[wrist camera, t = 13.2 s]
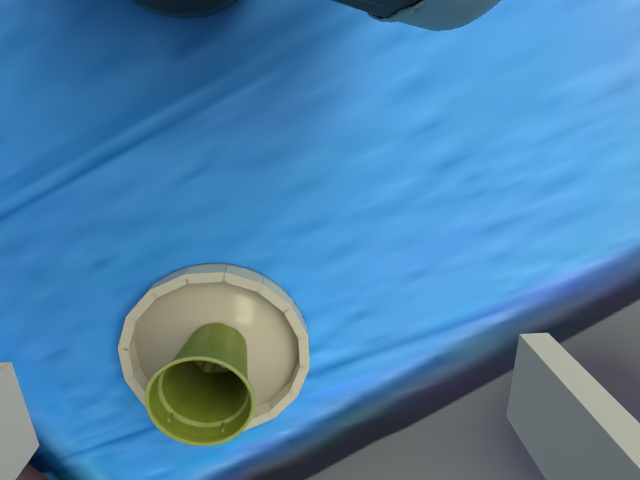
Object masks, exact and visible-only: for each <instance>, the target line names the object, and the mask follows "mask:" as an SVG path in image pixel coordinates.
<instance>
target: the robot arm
mask: <svg viewBox="0 0 640 480" xmlns="http://www.w3.org/2000/svg"><path fill="white" fill-rule="evenodd" d="M132 1H133V2H135V3H137V4H139V5H140V6H142V7H144V8H146V9H148V10H151V11H153V12H155V13H158V14H161V15H165V16H170V17H175V18H198V17H204V16H208V15H211V14H214V13H217V12H219V11H222V10H223V9H225V8H227V7H229V6H230V5H232V4H233V3H235V2H236V1H237V0H132ZM331 1H334V2H337V3H340V4H344V5H347V6H350V7H353V8H356V9H359V10H362V11H365V12H367V13H368V14H369V16H371V17H372V18H373V19H376V20H378V21H381V22H385V21H387V22H396V21H398V22H402V23H405V24H409V25H413V26H416V27H420V28H424V29H428V30H432V31H440V30H452V29H455V28H459V27H462V26H465V25H467V24H469V23H471V22H472V21H474V20H476V19H477V18H479V17H481V16H482V15H484V14H485V13H486V12H488V11H489V10H490V9H492V8H493V7H494V6H495V5H496V4H498V3H499V2H500V1H501V0H331ZM507 418H508V420H509V421H510V423H511V425H512V426H513V428H514V429H515V431H516V432H517V434H518V436H519V437H520V439H521V440H522V442H523V443H524V445H525V447H526V448H527V450H528V451H529V453H530V454H531V456H532V457H533V459H534V461H535V462H536V464H537V466H538V467H539V469H540V470H541V472H542V473H543V475H544V477H545V478H546V480H640V423H639V422H637V420H635V419H634V418H633V417H632V416H631V415H630V414H629V413H628V412H627V411H626V410H625V409H624V408H623V407H622V406H621V405H620V404H619V403H618V402H617V401H616V400H615V399H614V398H613V397H612V396H611V395H610V394H609V393H608V392H607V391H606V390H605V389H604V388H603V387H602V386H601V385H600V384H599V383H598V382H597V381H596V380H595V379H594V378H593V377H592V376H591V375H590V374H589V373H588V372H587V371H586V370H585V369H584V368H583V367H582V366H581V365H580V364H579V363H578V362H577V361H576V360H575V359H574V358H573V357H572V356H571V355H570V354H569V353H568V352H567V351H566V350H565V349H564V348H562V346H560V344H559V343H557V342H556V341H555V340H554V339H553V338H552V337H551V336H550V335H549V334H548V333H536V334H520V335H519V341H518V348H517V354H516V360H515V366H514V373H513V379H512V386H511V391H510V397H509V404H508V410H507ZM38 447H39V443H38V440H37V437H36V434H35V431H34V428H33V425H32V422H31V419H30V416H29V413H28V410H27V407H26V404H25V401H24V398H23V395H22V392H21V389H20V386H19V383H18V380H17V377H16V374H15V371H14V368H13V365H12V362H0V480H16V478H17V477H18V475H19V474H20V472H21V471H22V470H23V468H24V467H25V465H26V464H27V463H28V461H29V460H30V458H31V457H32V455H33V454H34V453H35V451H36V450H37V448H38Z"/></svg>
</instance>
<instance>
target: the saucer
mask: <svg viewBox="0 0 640 480" xmlns="http://www.w3.org/2000/svg"><path fill="white" fill-rule="evenodd" d="M210 323H222V324H224V325H226V326H229V327H231V328H234V329H236V330H238V331H239V332H240V333H241V334H242V336H243V337H244V339H245V341H246V345H247V372H248V380H249V382H250V384H251V386H252V389H253V391H254V395H255V411H254V415H253V417H252V419H251V421H250V423H249V425H248V426H247V427H246V429H245V430H247V429H250V428H252V427H254V426H257V425H259V424H262V423H264V422H266V421H269V420H271V419H274V418H275V417H276V416H277V415H278V414H279V413H280V412H282V411H283V410H284V409H285V408H286V407H287V406H288V405H289V404H290V403H291V402H292V401H293V400H294V399H295V398H296V397H297V396H298V394H299V392H300V390H301V387H302V385H303V383H304V380H305V378H306V376H307V373H308V371H309V368H310V363H309V343H308V328H307V326H306V324H305V321H304V318H303V316H302V314H301V311H300V309H299V308H298V306H297V305H296V303H295V301H294V300H293V299H292V298H291V297H290V295H289V294H288V293H287V292H286V291H285V290H284V289H283V288H282V287H281V286H279V285H278V284H277V283H276V282H274V281H273V280H271V279H270V278H268V277H266V276H264V275H263V274H261V273H259V272H256V271H254V270H251V269H248V268H246V267H241V266H237V265H233V264H225V263H206V264H197V265H193V266H189V267H185V268H182V269H180V270H177V271H174V272H172V273H170V274H169V275H167V276H165V277H163V278H162V279H160V280H159V281H157V282H155V283H154V284H153V285H152V286H151V288H150V289H149V290H148V291H147V292H146V293H145V294H144V295H143V297H142V298H141V299H140V300H139V301H138V302H137V303H136V305H135V306H134V307H133V308H132V309H131V311H130V312H129V313H128V315H127V316H126V318H125V322H124V326H123V330H122V334H121V338H120V341H119V345H118V352H119V357H120V361H121V366H122V370H123V375H124V379H125V381H126V383H127V384H128V385H129V387H130V388H131V389H132V391H133V392H134V393H135V395H136V396H137V397H138V398H139V400H140V401H141V402H142V404H143V405H144V406H145V391H146V387H147V385H148V383H149V381H150V379H151V378H152V376H153V375H154V374H155V373H156V372H157V371H158V370H159V369H160V368H161V367H162V366H164V365H165V364H167V363H169V362H170V361H172V360H173V359H174V358H175V356H176V355H177V354H178V352H179V351H180V350H181V349H182V347H183V346H184V345H185V343H186V342H187V340H188V339H189V338H190V336H191V335H192V334H193V333H194V332H195V331H196V330H197V329H198V328H200V327H201V326H203V325H206V324H210ZM221 368H226V367H224V366H221ZM245 430H244V431H245Z"/></svg>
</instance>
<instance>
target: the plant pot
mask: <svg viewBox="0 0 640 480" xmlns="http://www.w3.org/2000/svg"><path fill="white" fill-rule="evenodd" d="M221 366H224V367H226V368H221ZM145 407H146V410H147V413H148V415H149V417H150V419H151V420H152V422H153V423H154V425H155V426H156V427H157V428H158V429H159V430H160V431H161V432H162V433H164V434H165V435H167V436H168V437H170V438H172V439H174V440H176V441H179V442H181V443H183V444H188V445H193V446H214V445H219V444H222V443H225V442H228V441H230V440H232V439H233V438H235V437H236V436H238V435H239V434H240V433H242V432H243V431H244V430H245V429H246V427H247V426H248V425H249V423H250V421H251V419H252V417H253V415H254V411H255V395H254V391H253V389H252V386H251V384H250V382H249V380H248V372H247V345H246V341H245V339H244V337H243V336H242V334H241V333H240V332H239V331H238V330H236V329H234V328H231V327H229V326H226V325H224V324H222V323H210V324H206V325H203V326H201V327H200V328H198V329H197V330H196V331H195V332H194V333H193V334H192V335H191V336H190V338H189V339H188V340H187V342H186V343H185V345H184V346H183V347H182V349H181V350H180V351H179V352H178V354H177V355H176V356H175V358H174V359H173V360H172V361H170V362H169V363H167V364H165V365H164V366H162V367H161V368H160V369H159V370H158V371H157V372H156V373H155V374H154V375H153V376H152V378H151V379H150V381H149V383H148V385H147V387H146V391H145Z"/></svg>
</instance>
